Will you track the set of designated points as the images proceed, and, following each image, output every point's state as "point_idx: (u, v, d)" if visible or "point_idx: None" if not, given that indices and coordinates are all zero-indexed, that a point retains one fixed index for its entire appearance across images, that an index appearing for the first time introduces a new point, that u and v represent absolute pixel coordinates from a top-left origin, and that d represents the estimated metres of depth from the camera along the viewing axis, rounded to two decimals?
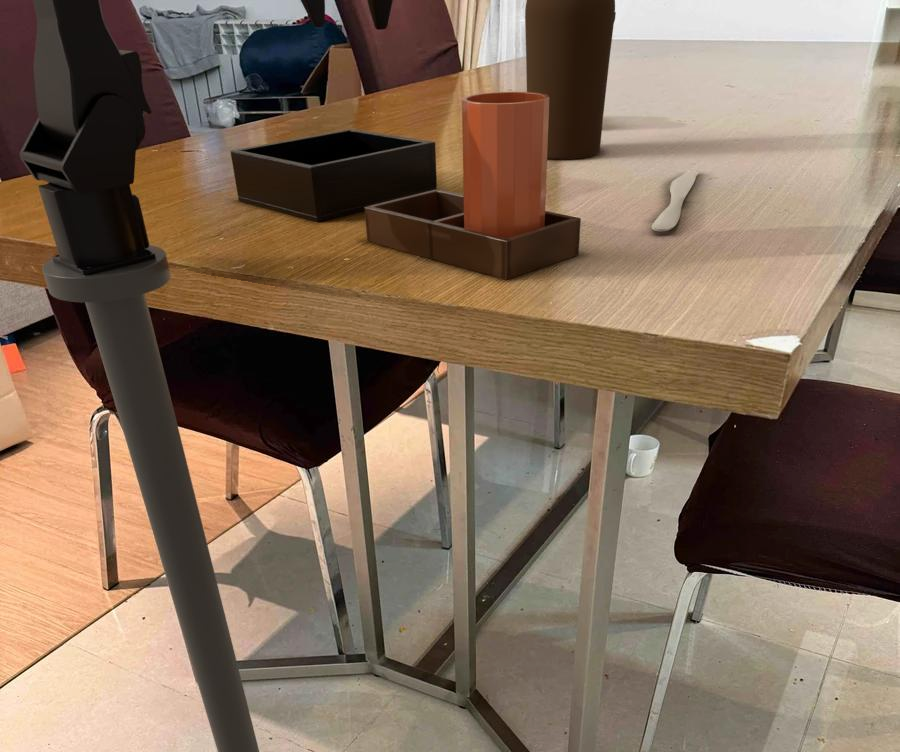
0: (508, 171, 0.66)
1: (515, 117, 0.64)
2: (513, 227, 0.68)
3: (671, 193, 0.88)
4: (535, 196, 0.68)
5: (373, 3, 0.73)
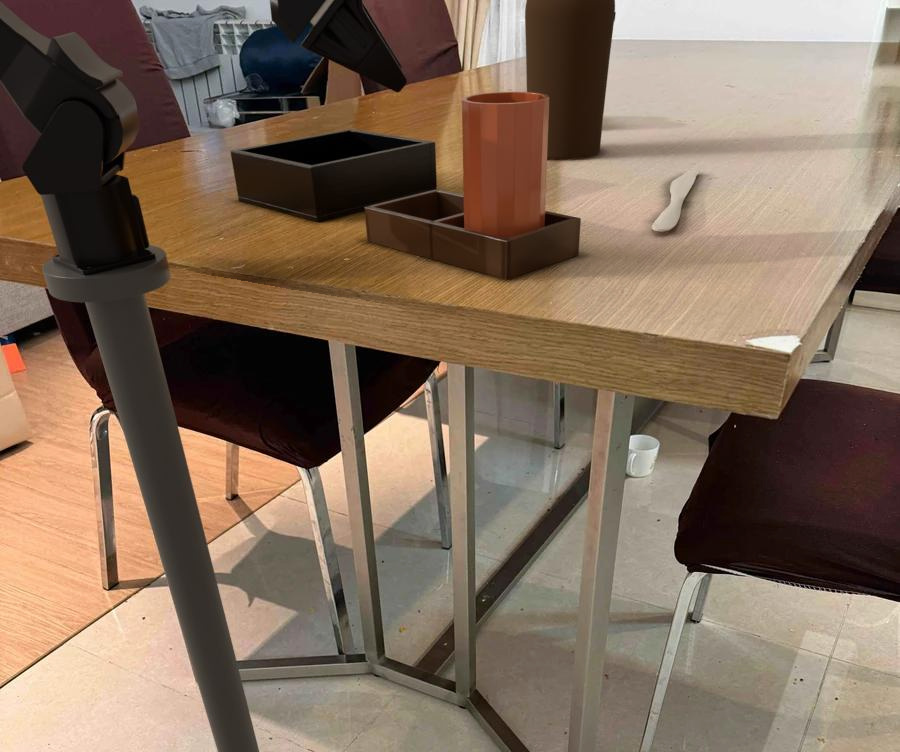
0: (508, 171, 0.66)
1: (515, 117, 0.64)
2: (513, 227, 0.68)
3: (671, 193, 0.88)
4: (535, 196, 0.68)
5: (372, 79, 0.60)
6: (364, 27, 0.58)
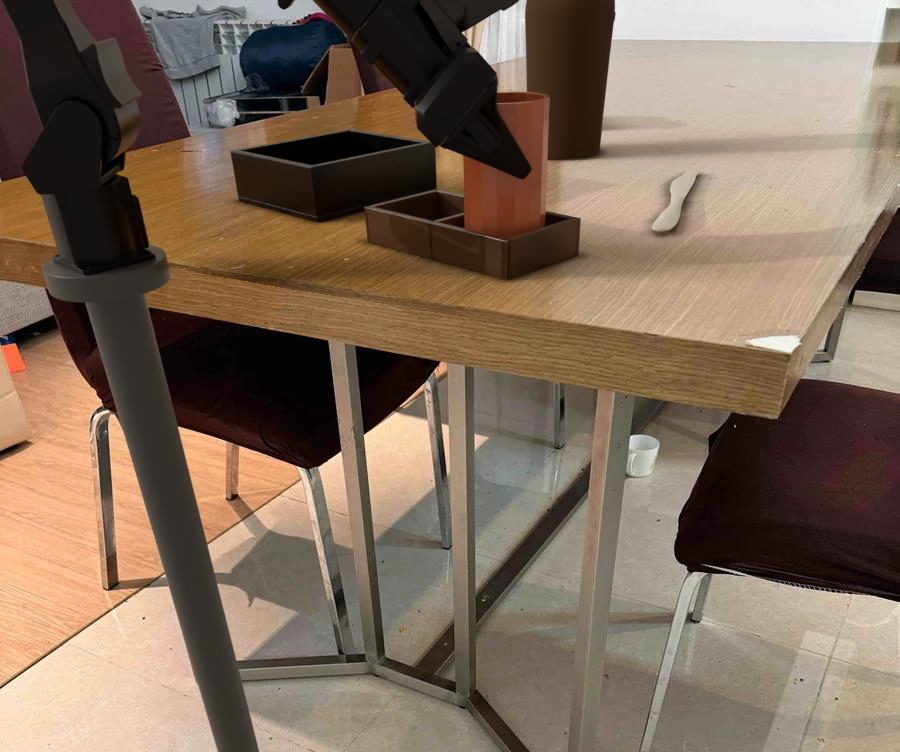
0: None
1: (515, 116, 0.64)
2: (513, 227, 0.68)
3: (671, 193, 0.88)
4: (535, 196, 0.68)
5: (500, 169, 0.65)
6: (496, 125, 0.62)
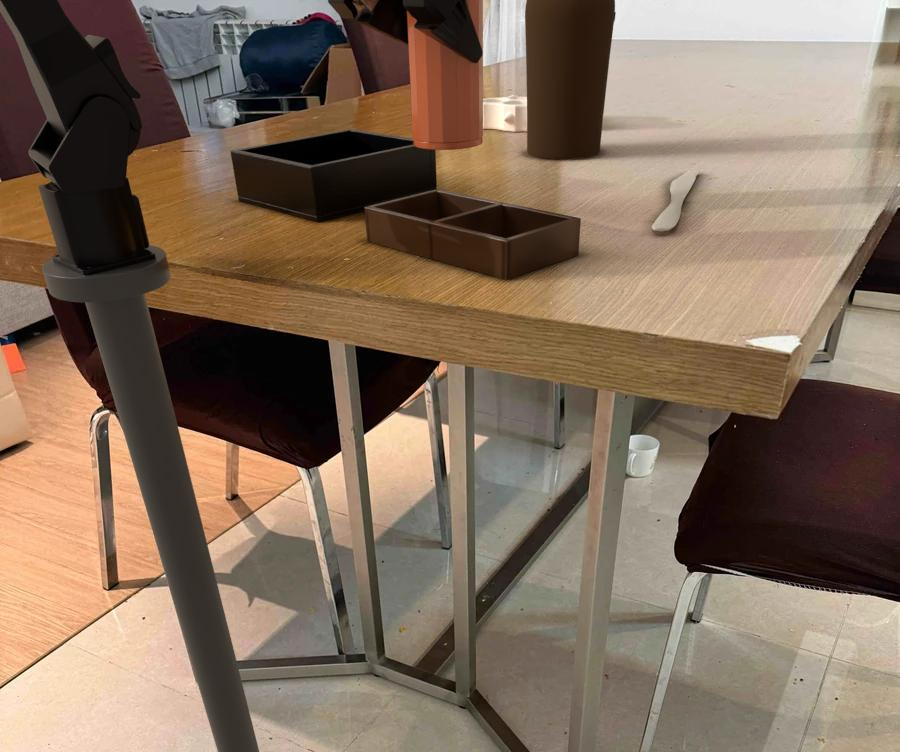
0: None
1: (468, 5, 0.73)
2: (469, 109, 0.78)
3: (671, 193, 0.88)
4: (481, 80, 0.78)
5: (462, 53, 0.74)
6: (462, 10, 0.72)
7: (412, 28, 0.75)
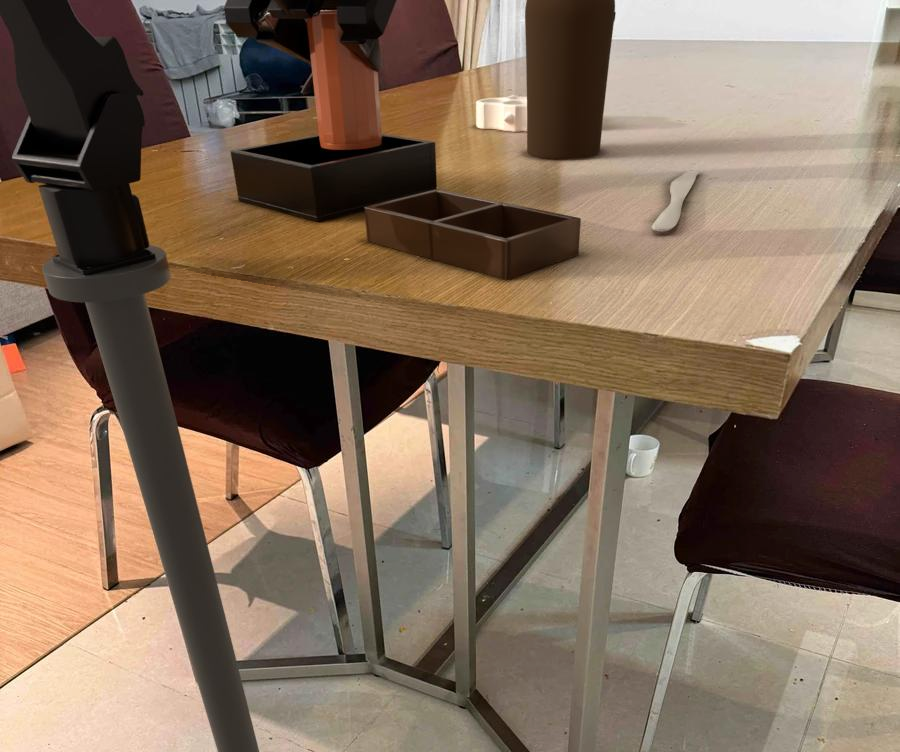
0: None
1: None
2: (376, 112, 0.89)
3: (671, 193, 0.88)
4: None
5: (371, 64, 0.85)
6: None
7: (321, 43, 0.84)
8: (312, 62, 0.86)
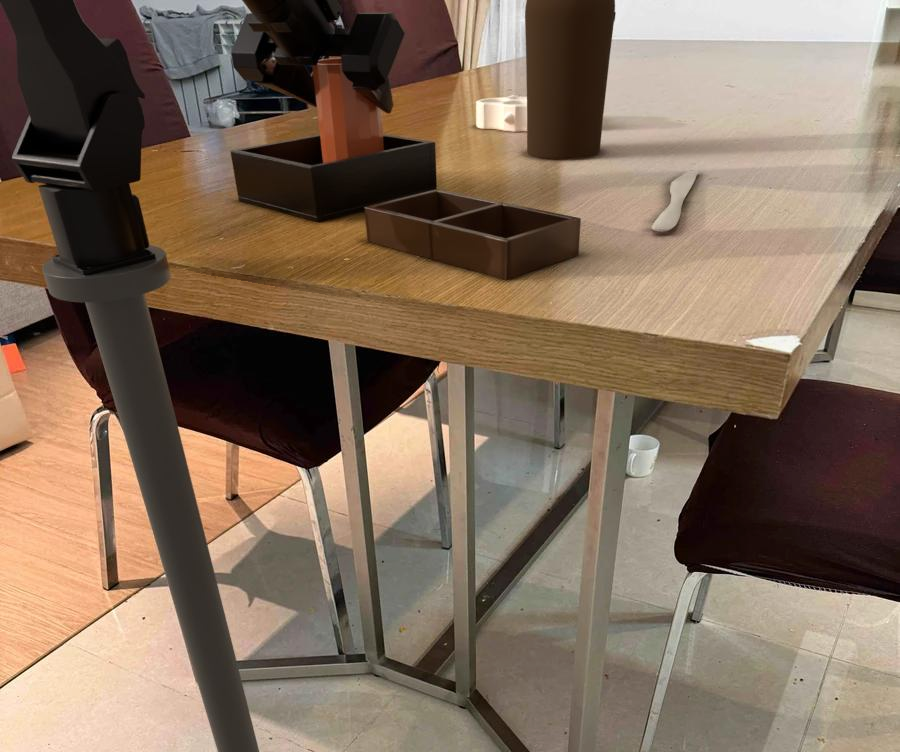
0: (374, 113, 0.89)
1: None
2: None
3: (671, 193, 0.88)
4: None
5: (382, 106, 0.87)
6: None
7: (327, 92, 0.87)
8: (318, 109, 0.89)
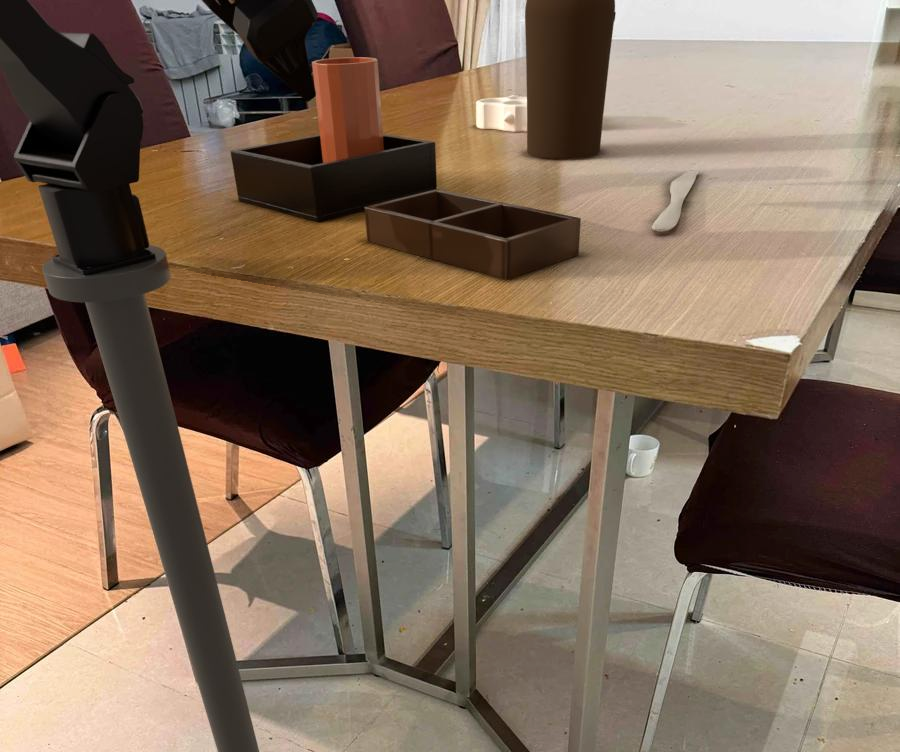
0: (374, 113, 0.89)
1: (373, 71, 0.87)
2: None
3: (671, 193, 0.88)
4: None
5: (293, 89, 0.76)
6: (300, 52, 0.73)
7: (327, 92, 0.87)
8: (318, 109, 0.89)
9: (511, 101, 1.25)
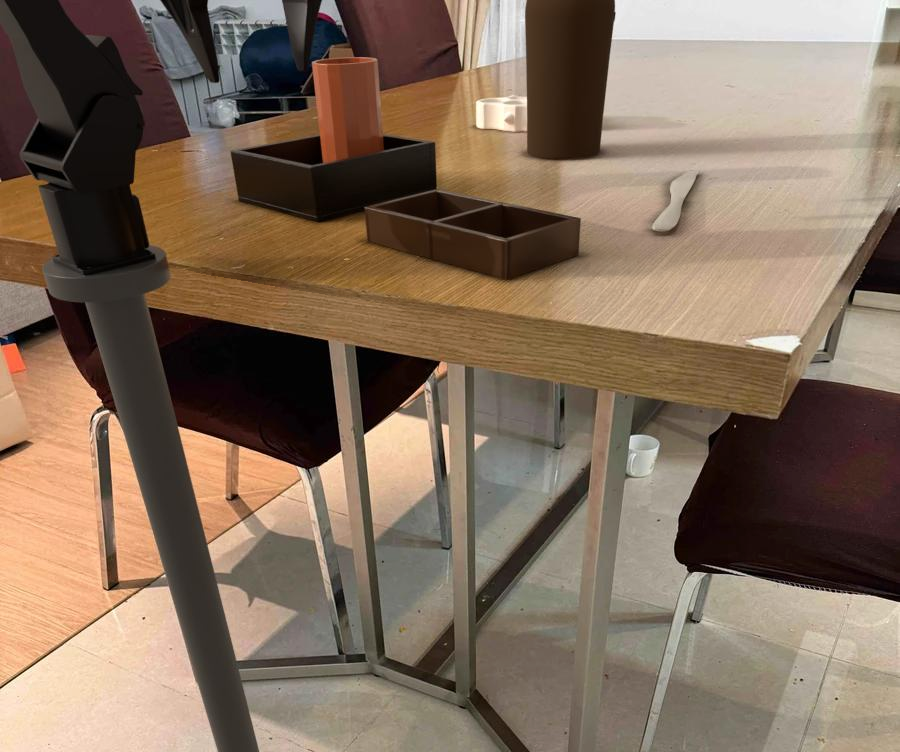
0: (374, 113, 0.89)
1: (373, 71, 0.87)
2: None
3: (671, 193, 0.88)
4: None
5: None
6: None
7: (327, 92, 0.87)
8: (318, 109, 0.89)
9: (511, 101, 1.25)
